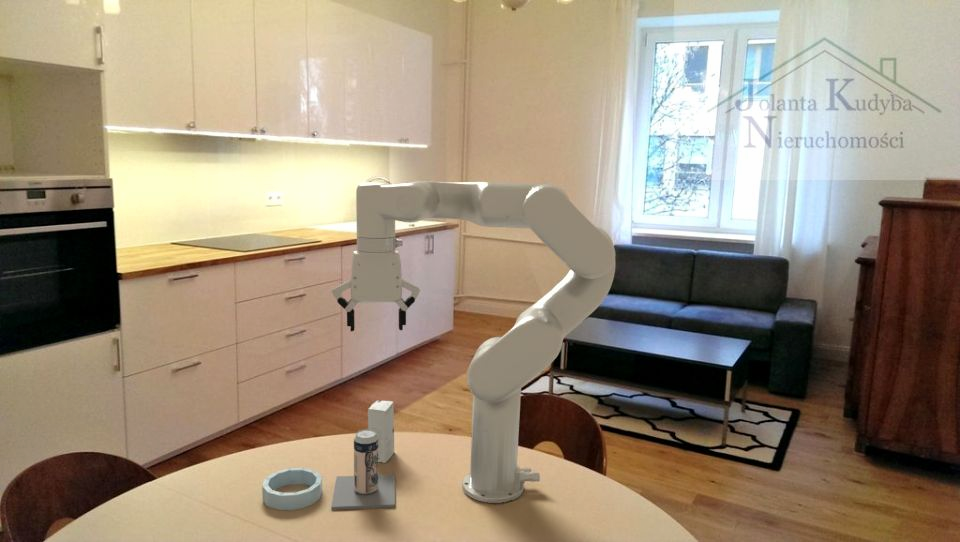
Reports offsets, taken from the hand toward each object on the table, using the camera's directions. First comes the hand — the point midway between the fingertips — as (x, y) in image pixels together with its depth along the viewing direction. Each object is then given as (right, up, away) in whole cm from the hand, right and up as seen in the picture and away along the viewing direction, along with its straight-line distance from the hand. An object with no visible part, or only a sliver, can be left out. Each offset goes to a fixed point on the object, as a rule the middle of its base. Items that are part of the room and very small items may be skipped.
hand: (376, 329), depth 134 cm
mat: (-2, -33, -1) cm, 33 cm away
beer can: (-2, -32, -1) cm, 32 cm away
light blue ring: (-16, -33, -3) cm, 36 cm away
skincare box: (-1, -30, +15) cm, 34 cm away
